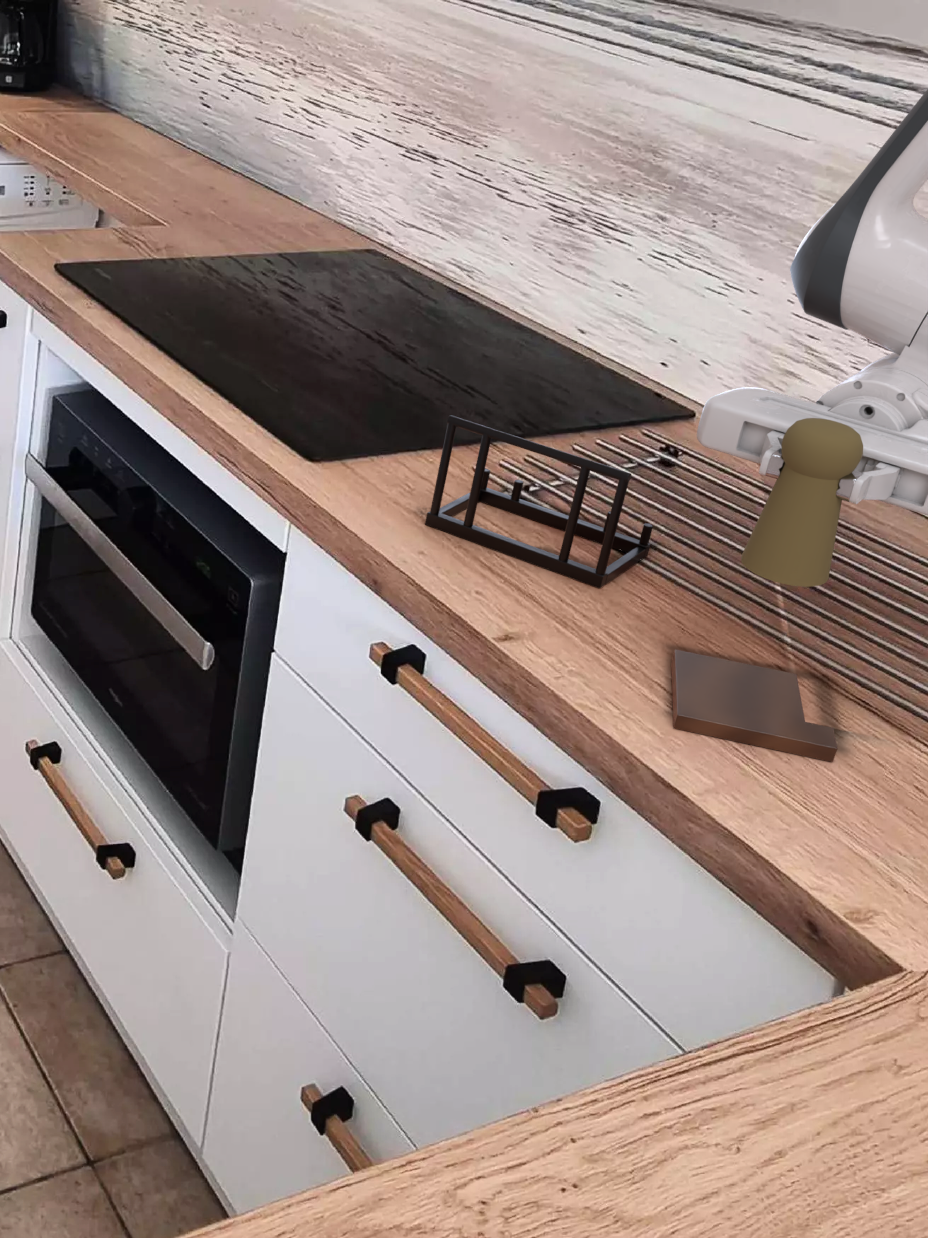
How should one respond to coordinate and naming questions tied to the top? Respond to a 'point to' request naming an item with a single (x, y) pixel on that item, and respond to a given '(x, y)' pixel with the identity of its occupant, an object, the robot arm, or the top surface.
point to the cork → (804, 504)
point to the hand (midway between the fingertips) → (809, 478)
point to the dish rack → (537, 511)
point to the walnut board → (745, 706)
